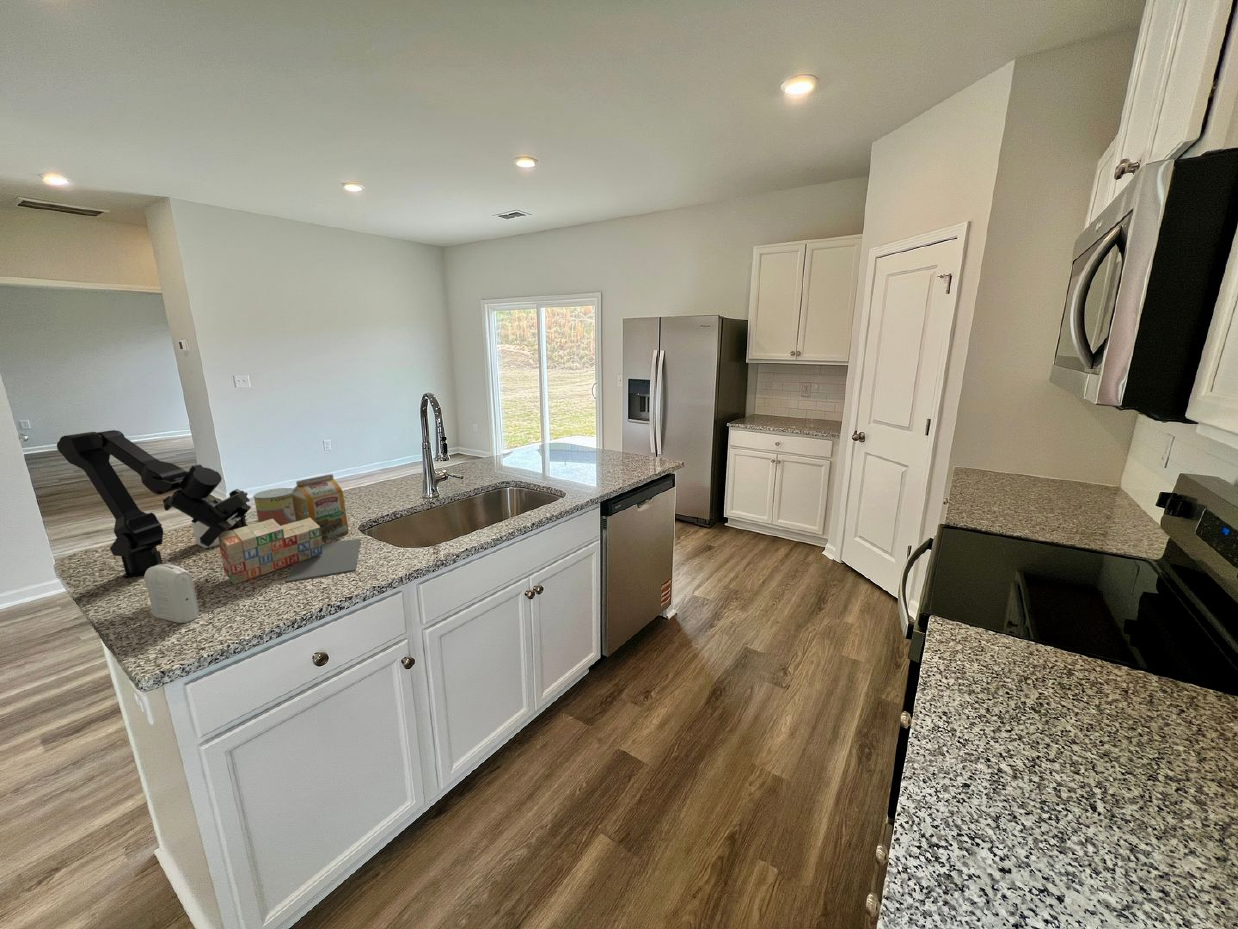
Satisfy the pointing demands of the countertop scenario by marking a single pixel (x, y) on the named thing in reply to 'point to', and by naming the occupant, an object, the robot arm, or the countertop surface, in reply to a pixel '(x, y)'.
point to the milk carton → (321, 505)
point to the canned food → (275, 506)
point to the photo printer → (171, 593)
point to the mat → (327, 561)
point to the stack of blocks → (267, 547)
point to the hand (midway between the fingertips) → (258, 541)
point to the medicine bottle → (201, 533)
